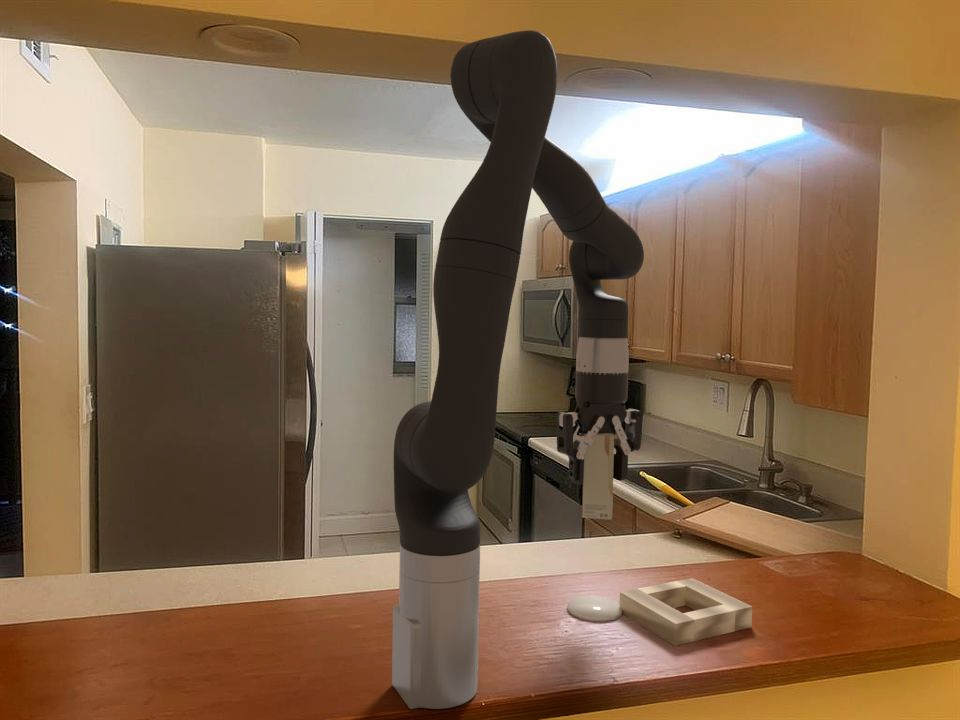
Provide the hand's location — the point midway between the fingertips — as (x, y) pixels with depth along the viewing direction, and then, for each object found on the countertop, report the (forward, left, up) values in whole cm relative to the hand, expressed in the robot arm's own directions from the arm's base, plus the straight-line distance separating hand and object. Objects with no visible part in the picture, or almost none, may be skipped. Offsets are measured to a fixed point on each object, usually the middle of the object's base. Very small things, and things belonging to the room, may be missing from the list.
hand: (598, 481), depth 105 cm
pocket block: (+10, -8, -19) cm, 23 cm away
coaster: (0, 0, -19) cm, 19 cm away
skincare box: (0, 0, -5) cm, 5 cm away
